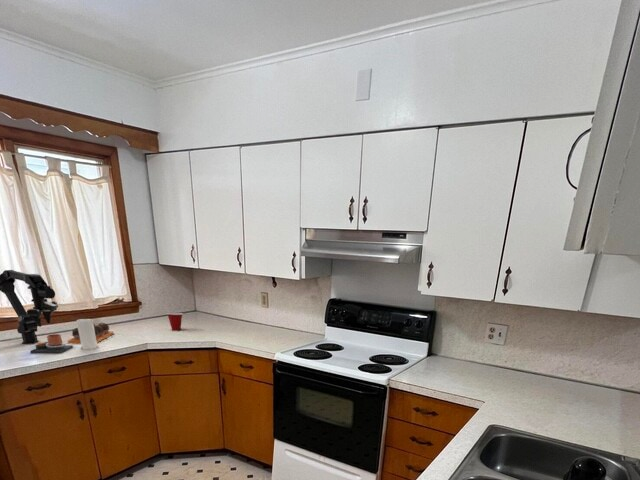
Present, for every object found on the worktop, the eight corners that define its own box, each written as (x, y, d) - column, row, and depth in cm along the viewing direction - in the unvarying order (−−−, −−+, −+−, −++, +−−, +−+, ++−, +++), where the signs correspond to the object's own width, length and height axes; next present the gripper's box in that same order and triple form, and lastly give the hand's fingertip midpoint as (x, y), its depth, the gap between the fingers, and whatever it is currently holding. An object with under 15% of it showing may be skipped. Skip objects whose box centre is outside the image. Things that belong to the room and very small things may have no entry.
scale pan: (34, 347, 235) (33, 346, 235) (44, 342, 245) (44, 341, 245) (60, 347, 236) (60, 346, 236) (69, 343, 246) (69, 342, 246)
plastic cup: (187, 329, 304) (186, 312, 300) (175, 332, 296) (173, 314, 291) (177, 327, 310) (175, 310, 305) (165, 329, 301) (163, 312, 296)
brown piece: (88, 333, 283) (85, 320, 280) (113, 333, 285) (111, 321, 282) (67, 343, 258) (65, 329, 254) (96, 343, 259) (93, 329, 256)
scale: (30, 353, 234) (28, 348, 233) (44, 347, 247) (43, 342, 246) (60, 353, 235) (59, 348, 234) (73, 347, 248) (72, 342, 247)
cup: (91, 349, 245) (85, 321, 239) (78, 348, 247) (72, 320, 241) (100, 346, 253) (95, 319, 247) (88, 345, 254) (83, 318, 248)
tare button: (37, 346, 239) (37, 343, 238) (40, 345, 241) (39, 342, 240) (42, 346, 239) (41, 343, 238) (45, 345, 241) (44, 342, 241)
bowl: (46, 345, 237) (44, 336, 235) (52, 342, 243) (50, 334, 241) (58, 345, 237) (56, 336, 235) (64, 343, 243) (62, 334, 242)
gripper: (44, 299, 233) (50, 328, 239) (61, 295, 250) (67, 322, 256) (22, 299, 232) (29, 328, 238) (41, 295, 249) (47, 321, 256)
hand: (44, 325), depth 247 cm, fingers open, 9 cm apart
